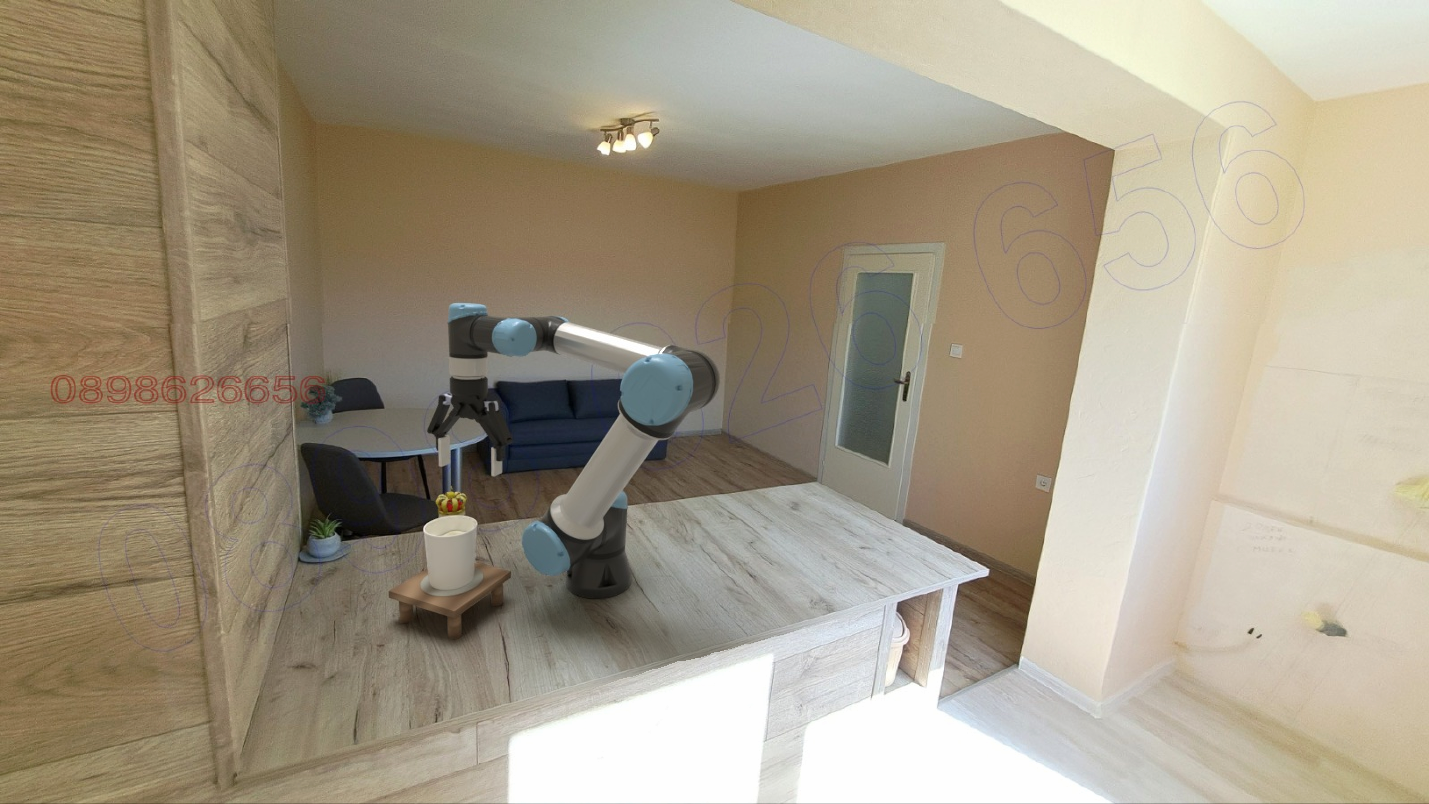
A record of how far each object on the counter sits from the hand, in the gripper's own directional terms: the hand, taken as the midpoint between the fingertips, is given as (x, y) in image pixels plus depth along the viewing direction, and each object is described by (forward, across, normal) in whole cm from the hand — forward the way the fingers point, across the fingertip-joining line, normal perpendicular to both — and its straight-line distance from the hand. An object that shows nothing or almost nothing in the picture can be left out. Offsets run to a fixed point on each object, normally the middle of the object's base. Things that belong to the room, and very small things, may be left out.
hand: (470, 469), depth 120 cm
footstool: (+26, -6, +13) cm, 30 cm away
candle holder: (+19, -6, +13) cm, 24 cm away
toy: (+26, +16, -12) cm, 33 cm away
